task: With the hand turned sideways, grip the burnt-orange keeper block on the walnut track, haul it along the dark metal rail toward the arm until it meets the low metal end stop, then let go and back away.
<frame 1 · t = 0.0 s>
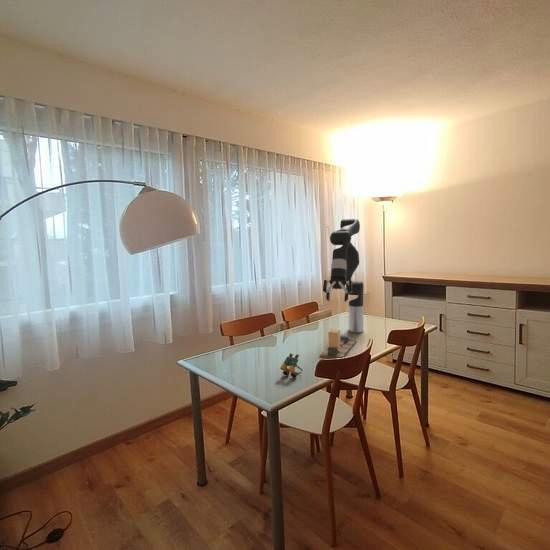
hand: (336, 301, 160), 31 cm above the table, tool tilted 20°, fingers open, 8 cm apart
keeper: (334, 340, 174), point 8 cm above the table, slide at 0.0 cm
track: (339, 349, 182), on the table
green yellow plastic figure: (291, 377, 150), on the table
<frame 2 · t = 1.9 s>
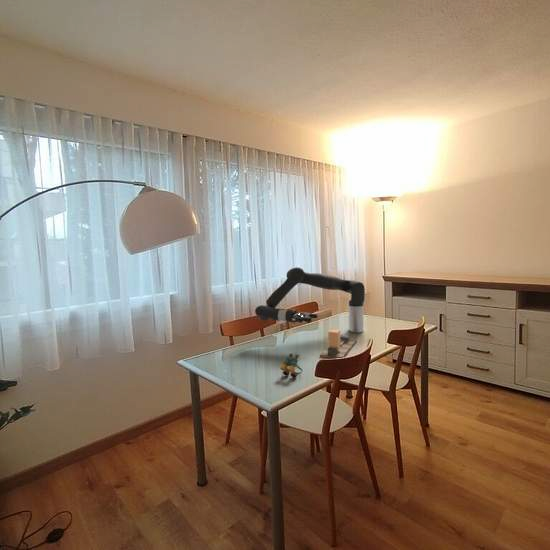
hand: (314, 318, 178), 19 cm above the table, tool horizontal, fingers open, 8 cm apart
nothing on the table moved.
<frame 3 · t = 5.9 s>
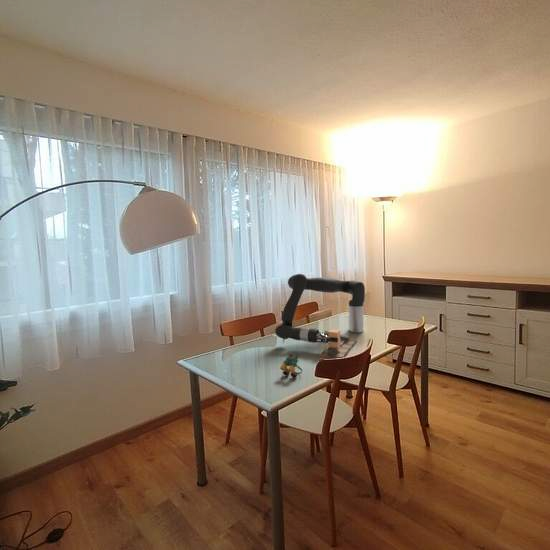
hand: (339, 338, 173), 9 cm above the table, tool horizontal, fingers closed on keeper, 5 cm apart
keeper: (334, 340, 174), point 8 cm above the table, slide at 0.0 cm, touching gripper
everything else where it was.
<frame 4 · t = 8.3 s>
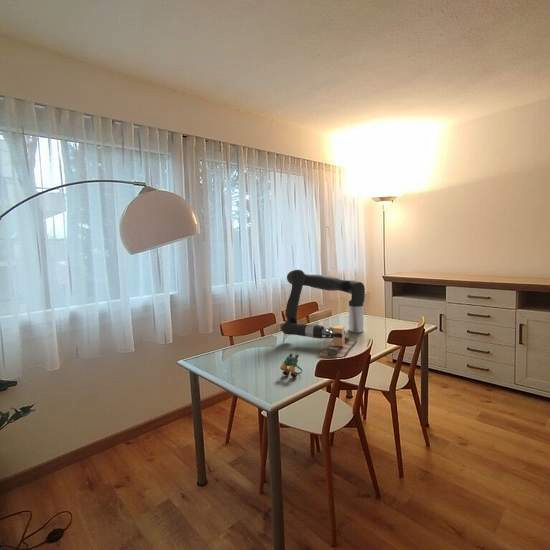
hand: (343, 334, 180), 9 cm above the table, tool horizontal, fingers closed on keeper, 5 cm apart
keeper: (338, 335, 181), point 8 cm above the table, slide at 7.9 cm, touching gripper
everything else where it was.
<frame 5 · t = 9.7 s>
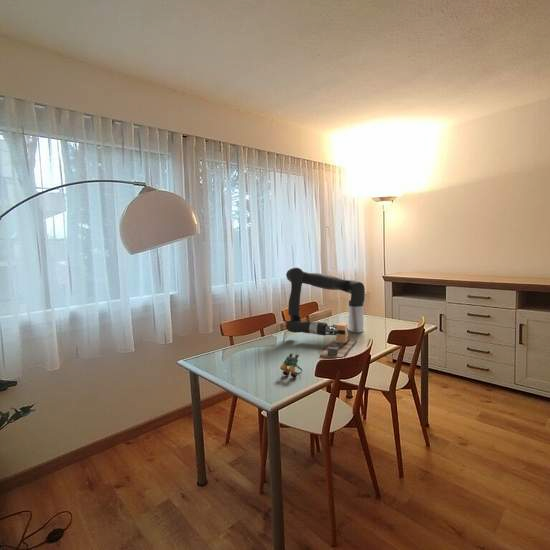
hand: (346, 331, 185), 9 cm above the table, tool horizontal, fingers closed on keeper, 5 cm apart
keeper: (342, 332, 186), point 8 cm above the table, slide at 14.0 cm, touching gripper
everything else where it was.
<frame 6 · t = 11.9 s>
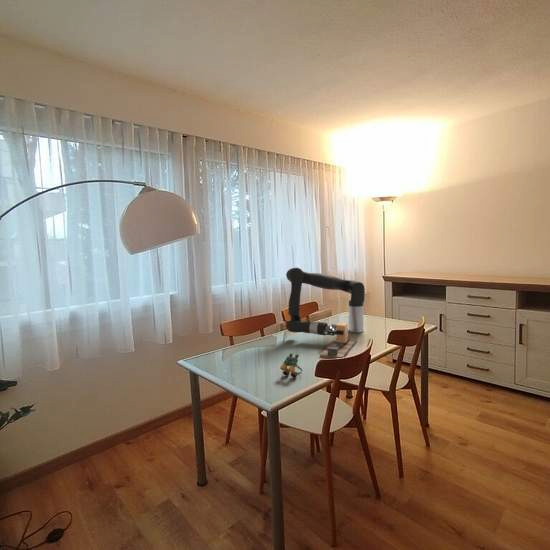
hand: (345, 331, 186), 9 cm above the table, tool horizontal, fingers open, 8 cm apart
keeper: (342, 332, 186), point 8 cm above the table, slide at 14.0 cm
everything else where it was.
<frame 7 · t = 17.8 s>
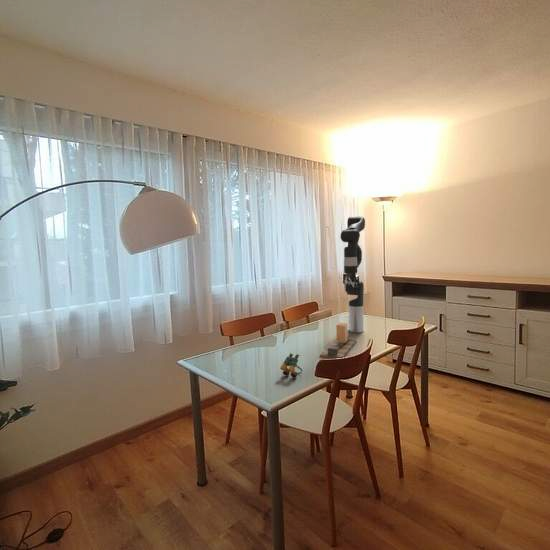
hand: (351, 292, 189), 30 cm above the table, tool pointing down, fingers open, 8 cm apart
nothing on the table moved.
at the end: keeper slide at 14.0 cm; the gripper is holding nothing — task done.
